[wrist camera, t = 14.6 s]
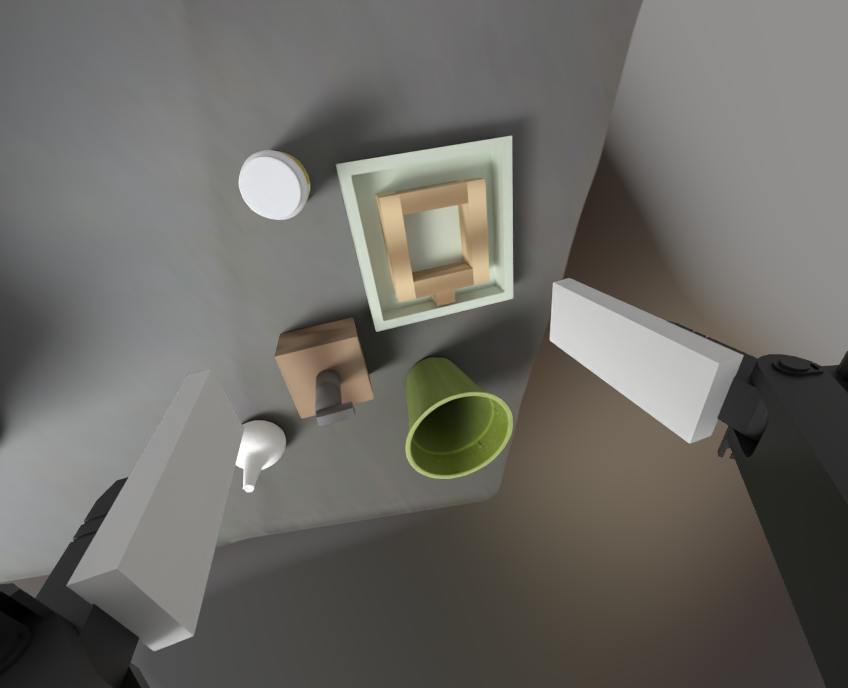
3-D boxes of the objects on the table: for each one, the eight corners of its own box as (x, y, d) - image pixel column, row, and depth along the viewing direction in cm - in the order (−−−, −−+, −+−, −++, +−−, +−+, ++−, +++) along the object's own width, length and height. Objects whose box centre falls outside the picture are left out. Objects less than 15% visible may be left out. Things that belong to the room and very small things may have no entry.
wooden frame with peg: (374, 195, 32) (379, 197, 30) (472, 177, 34) (485, 178, 31) (396, 304, 38) (401, 314, 35) (479, 285, 39) (490, 293, 37)
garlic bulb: (227, 419, 40) (199, 472, 33) (281, 412, 41) (266, 463, 34) (241, 457, 43) (219, 513, 36) (292, 450, 44) (279, 504, 37)
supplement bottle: (252, 146, 29) (228, 141, 21) (311, 157, 30) (307, 155, 23) (255, 206, 31) (234, 220, 24) (310, 214, 32) (306, 228, 25)
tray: (372, 320, 39) (376, 331, 36) (335, 164, 31) (336, 164, 28) (501, 290, 41) (513, 298, 39) (497, 137, 33) (512, 135, 31)
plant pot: (371, 402, 44) (385, 469, 34) (415, 326, 41) (444, 377, 31) (445, 424, 49) (475, 487, 40) (489, 358, 46) (534, 410, 36)
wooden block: (303, 392, 41) (297, 463, 31) (280, 334, 37) (264, 395, 27) (368, 374, 42) (382, 438, 32) (353, 317, 38) (363, 370, 28)
